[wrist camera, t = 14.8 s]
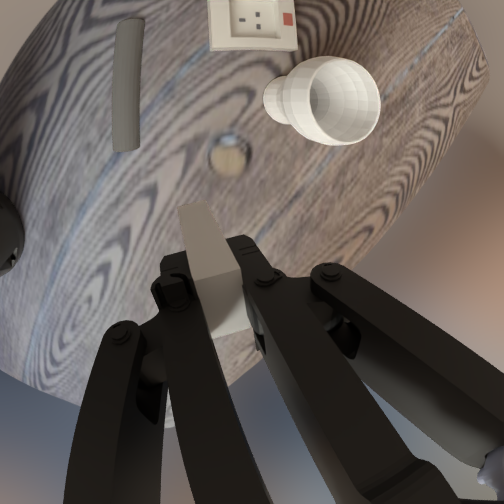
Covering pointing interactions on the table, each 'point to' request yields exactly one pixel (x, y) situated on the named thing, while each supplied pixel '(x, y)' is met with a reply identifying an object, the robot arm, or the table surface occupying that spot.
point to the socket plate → (252, 25)
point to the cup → (326, 100)
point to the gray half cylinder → (126, 85)
